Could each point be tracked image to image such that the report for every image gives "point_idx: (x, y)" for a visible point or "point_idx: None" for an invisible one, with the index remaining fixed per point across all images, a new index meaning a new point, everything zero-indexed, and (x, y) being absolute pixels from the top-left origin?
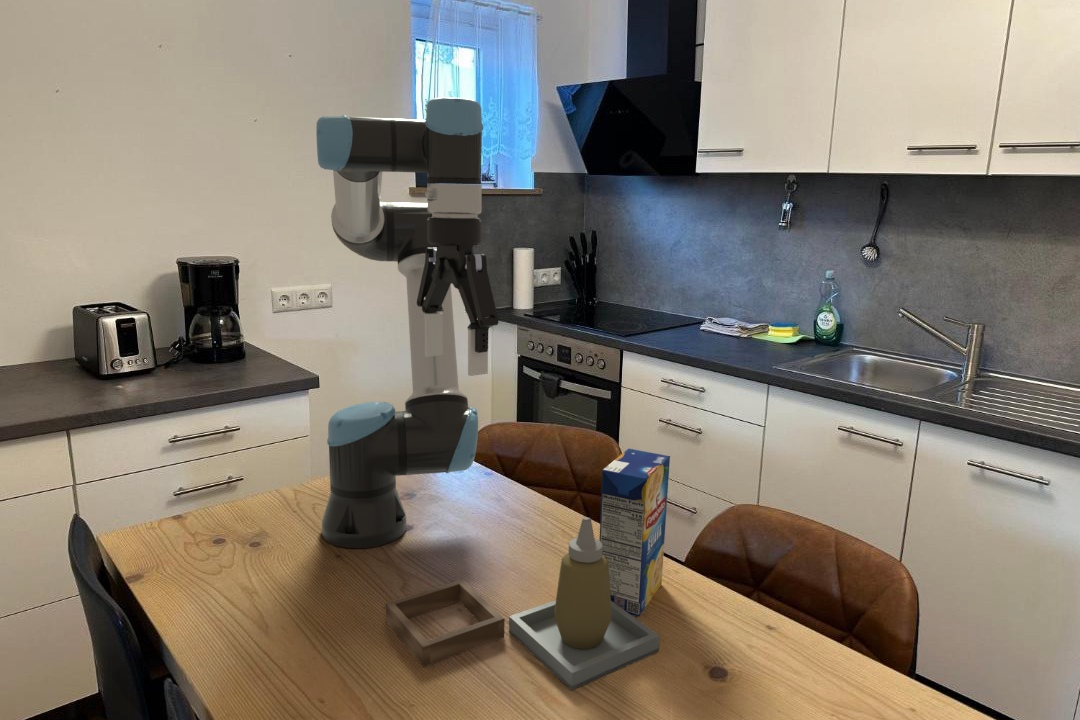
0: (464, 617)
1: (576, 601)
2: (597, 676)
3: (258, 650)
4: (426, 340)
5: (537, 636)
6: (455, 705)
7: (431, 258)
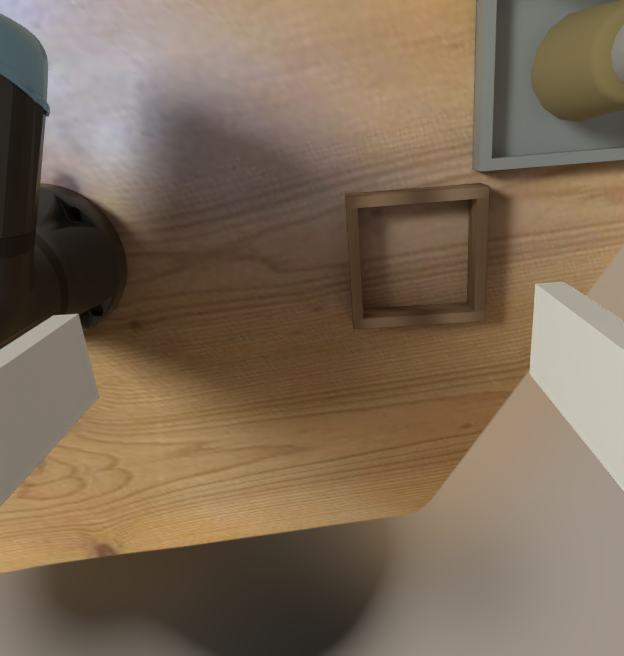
0: (400, 214)
1: None
2: None
3: (336, 462)
4: (54, 442)
5: (552, 157)
6: None
7: None
